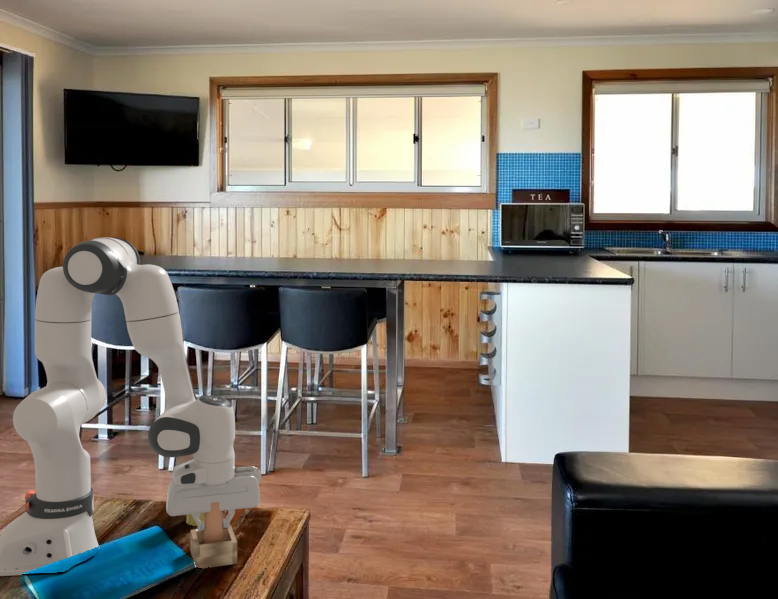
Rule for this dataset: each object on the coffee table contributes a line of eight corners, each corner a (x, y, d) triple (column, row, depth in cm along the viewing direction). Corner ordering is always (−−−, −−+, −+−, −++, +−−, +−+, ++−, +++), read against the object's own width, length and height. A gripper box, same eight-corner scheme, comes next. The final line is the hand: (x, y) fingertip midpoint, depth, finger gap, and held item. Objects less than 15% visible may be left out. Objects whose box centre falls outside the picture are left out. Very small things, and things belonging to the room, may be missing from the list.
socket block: (194, 569, 155) (195, 547, 154) (190, 550, 163) (190, 529, 162) (237, 563, 158) (237, 542, 157) (230, 545, 166) (230, 525, 166)
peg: (205, 556, 158) (205, 503, 156) (203, 548, 161) (203, 496, 160) (223, 553, 159) (224, 501, 158) (221, 545, 163) (221, 495, 161)
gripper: (258, 460, 165) (257, 517, 166) (165, 468, 157) (165, 528, 159) (263, 469, 159) (262, 529, 161) (167, 478, 152) (167, 540, 153)
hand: (213, 529), depth 160 cm, fingers closed on peg, 4 cm apart
